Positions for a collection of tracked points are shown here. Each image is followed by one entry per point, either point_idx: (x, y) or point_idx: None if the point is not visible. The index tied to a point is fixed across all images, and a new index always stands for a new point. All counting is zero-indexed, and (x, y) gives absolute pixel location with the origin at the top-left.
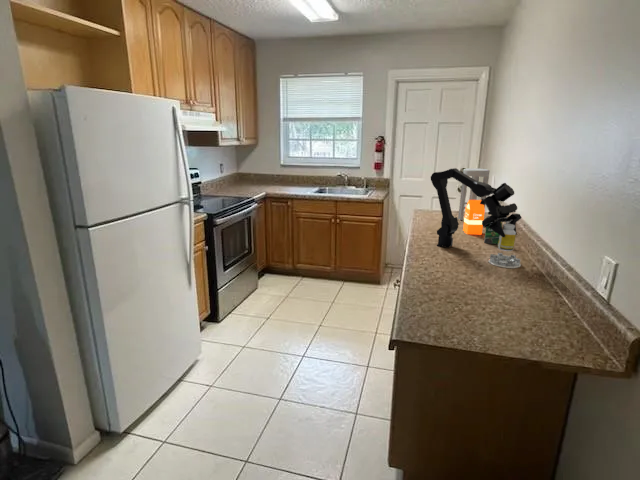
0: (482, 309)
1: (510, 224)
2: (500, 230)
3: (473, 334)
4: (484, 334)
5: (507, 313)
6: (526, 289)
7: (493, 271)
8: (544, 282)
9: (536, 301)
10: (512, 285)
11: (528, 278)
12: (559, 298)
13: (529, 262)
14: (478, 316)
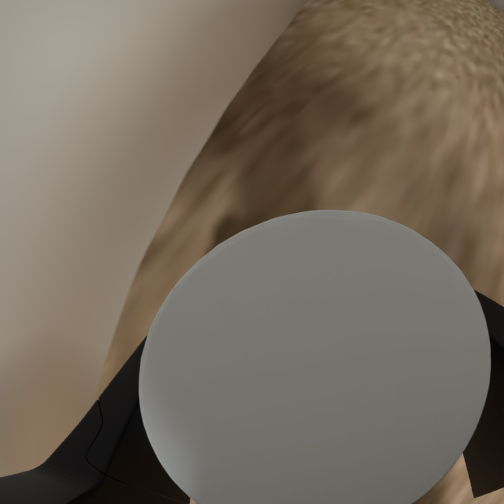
0: (487, 36)
1: (233, 456)
2: (495, 317)
3: (494, 14)
4: (483, 8)
5: (451, 12)
6: (370, 45)
7: (419, 203)
8: (265, 70)
9: (378, 9)
10: (402, 73)
11: (303, 103)
12: (308, 5)
13: (129, 307)
14: (492, 29)
